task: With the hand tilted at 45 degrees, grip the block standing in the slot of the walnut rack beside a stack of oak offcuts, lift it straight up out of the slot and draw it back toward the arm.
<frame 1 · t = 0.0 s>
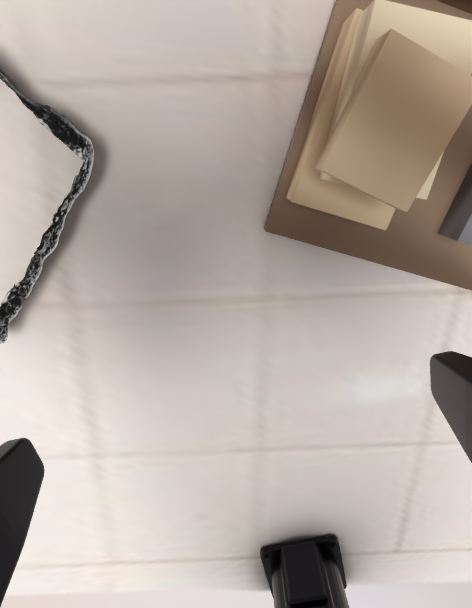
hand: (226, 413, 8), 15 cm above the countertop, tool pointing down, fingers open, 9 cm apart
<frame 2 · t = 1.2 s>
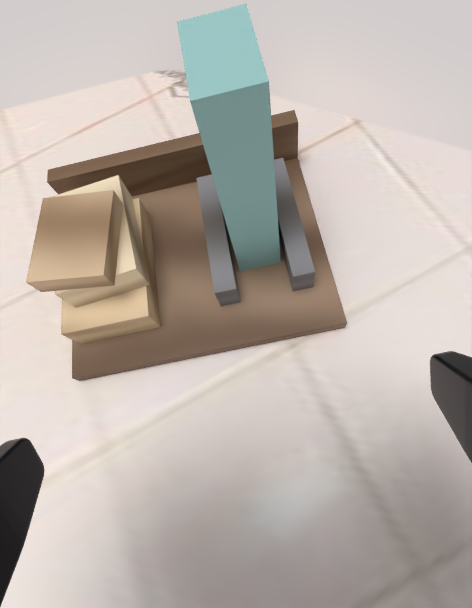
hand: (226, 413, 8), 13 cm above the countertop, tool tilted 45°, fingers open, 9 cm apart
rack: (255, 245, 24), on the countertop
block: (254, 239, 23), point 1 cm above the countertop, touching rack
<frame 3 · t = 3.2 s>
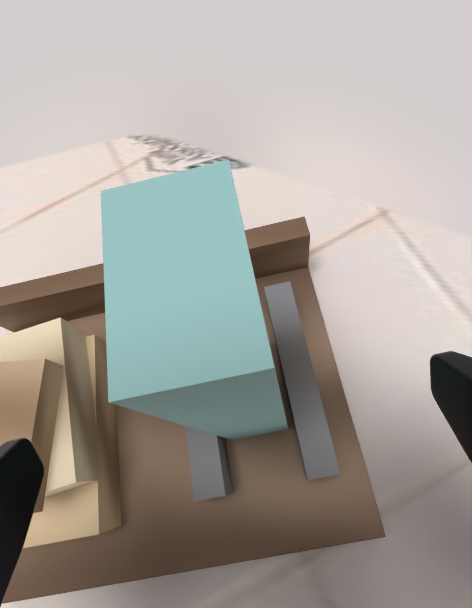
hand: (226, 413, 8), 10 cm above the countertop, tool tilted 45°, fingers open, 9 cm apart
rack: (253, 392, 18), on the countertop
block: (251, 389, 17), point 1 cm above the countertop, touching rack
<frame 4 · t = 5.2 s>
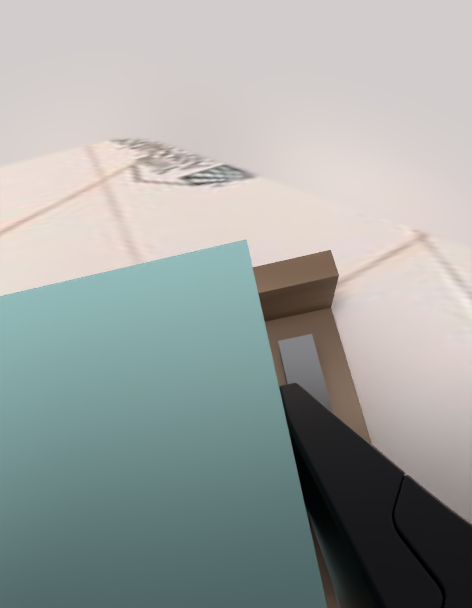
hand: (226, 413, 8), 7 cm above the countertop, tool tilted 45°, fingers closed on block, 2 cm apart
rack: (263, 470, 14), on the countertop
block: (261, 470, 13), point 1 cm above the countertop, touching gripper, rack
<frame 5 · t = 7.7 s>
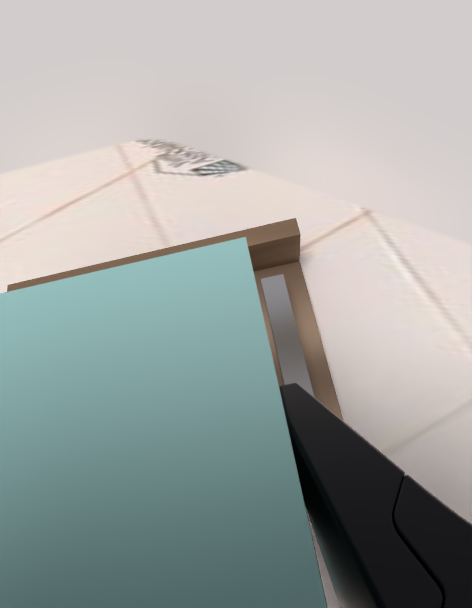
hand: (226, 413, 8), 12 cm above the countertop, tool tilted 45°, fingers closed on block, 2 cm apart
rack: (251, 369, 21), on the countertop
block: (261, 470, 13), point 6 cm above the countertop, touching gripper
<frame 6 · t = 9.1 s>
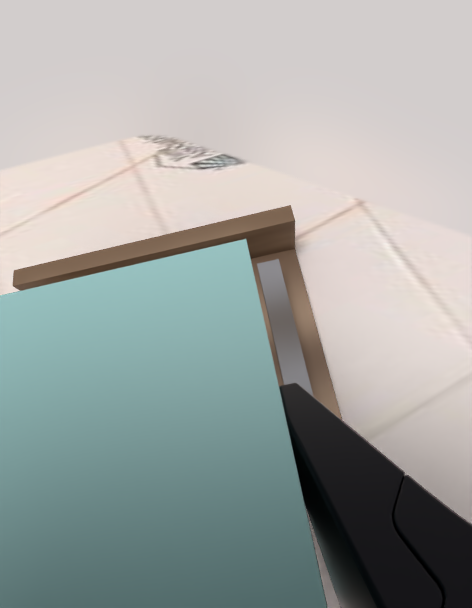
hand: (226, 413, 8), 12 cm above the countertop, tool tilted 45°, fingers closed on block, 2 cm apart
rack: (248, 352, 22), on the countertop
block: (261, 470, 13), point 6 cm above the countertop, touching gripper
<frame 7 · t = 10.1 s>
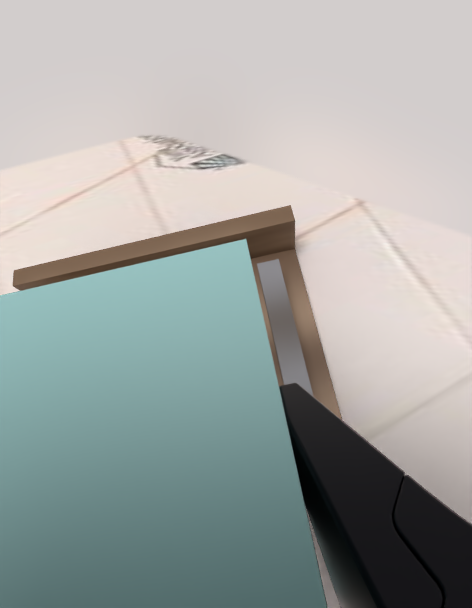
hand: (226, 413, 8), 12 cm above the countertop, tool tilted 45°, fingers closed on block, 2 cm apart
rack: (248, 352, 22), on the countertop
block: (261, 470, 13), point 6 cm above the countertop, touching gripper
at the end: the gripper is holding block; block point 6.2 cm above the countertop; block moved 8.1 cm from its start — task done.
